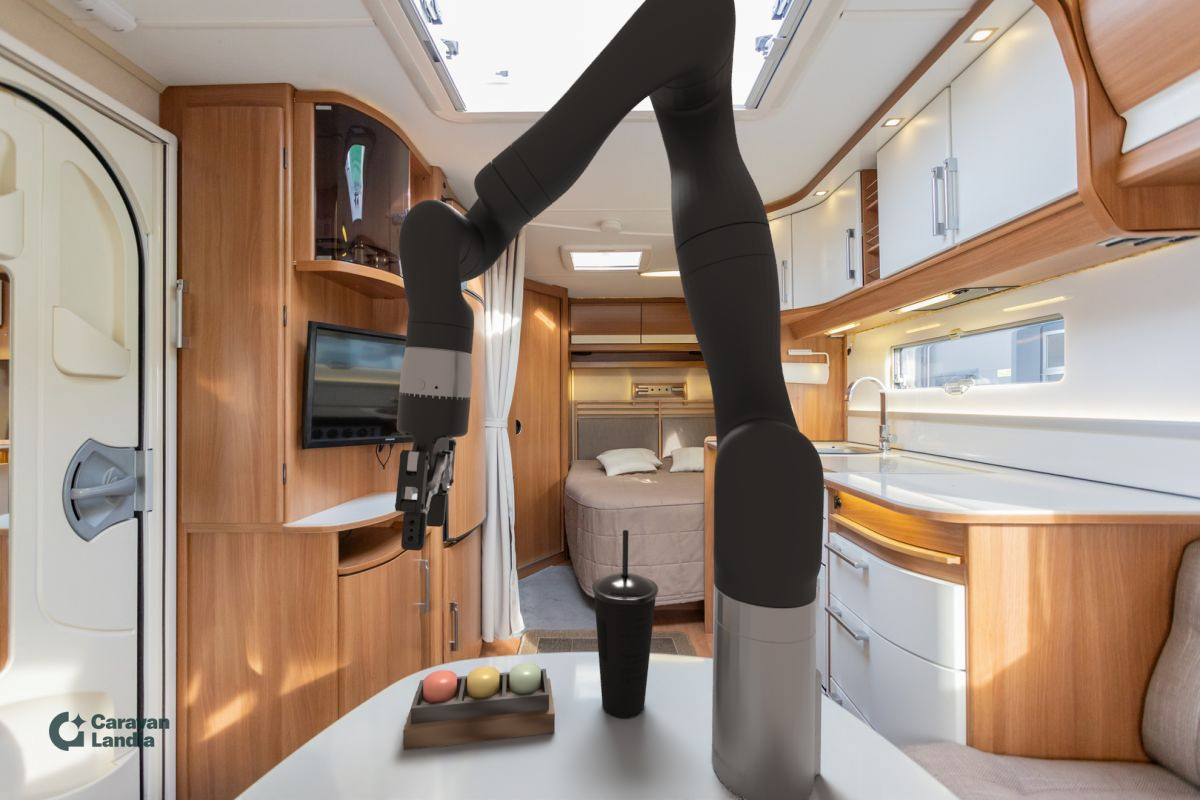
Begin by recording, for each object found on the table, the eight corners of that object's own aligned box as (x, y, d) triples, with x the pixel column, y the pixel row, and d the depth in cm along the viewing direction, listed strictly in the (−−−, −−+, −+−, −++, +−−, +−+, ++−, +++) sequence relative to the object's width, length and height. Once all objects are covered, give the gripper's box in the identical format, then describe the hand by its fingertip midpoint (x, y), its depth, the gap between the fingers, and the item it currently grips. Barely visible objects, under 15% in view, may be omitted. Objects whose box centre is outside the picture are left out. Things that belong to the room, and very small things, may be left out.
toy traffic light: (549, 695, 56) (550, 664, 56) (554, 732, 50) (554, 698, 50) (416, 708, 53) (416, 676, 53) (403, 750, 47) (403, 713, 47)
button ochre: (499, 679, 54) (499, 665, 54) (498, 697, 50) (499, 682, 50) (468, 682, 53) (468, 667, 53) (465, 701, 50) (465, 686, 50)
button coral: (458, 683, 53) (458, 668, 53) (454, 702, 49) (454, 687, 49) (426, 686, 52) (426, 671, 52) (420, 705, 49) (420, 690, 49)
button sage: (539, 675, 54) (539, 661, 54) (541, 693, 51) (541, 678, 51) (509, 678, 54) (509, 664, 54) (509, 696, 50) (509, 681, 50)
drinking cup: (653, 733, 50) (656, 543, 50) (583, 722, 51) (585, 538, 51) (659, 689, 57) (661, 524, 57) (597, 681, 59) (599, 520, 59)
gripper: (456, 395, 46) (443, 561, 46) (480, 394, 60) (470, 520, 60) (376, 388, 45) (363, 557, 46) (419, 389, 60) (409, 517, 60)
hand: (424, 536), depth 53 cm, fingers open, 8 cm apart
